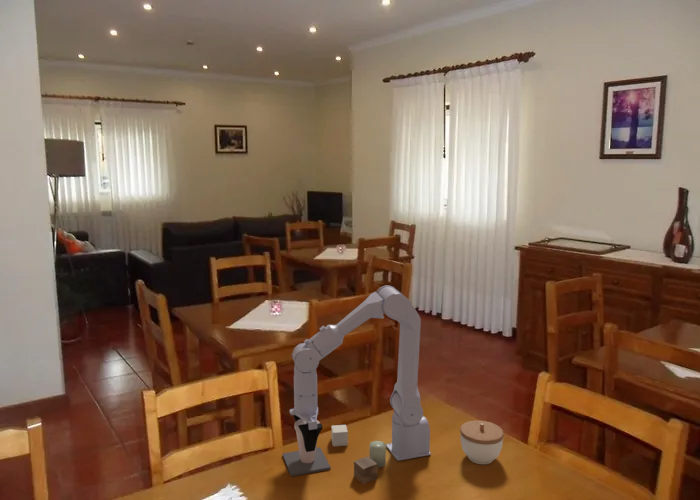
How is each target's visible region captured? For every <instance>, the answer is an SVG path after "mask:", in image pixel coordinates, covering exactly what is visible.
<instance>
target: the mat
mask: <svg viewBox="0 0 700 500" xmlns="http://www.w3.org/2000/svg"><path fill="white" fill-rule="evenodd" d="M282 457H283V460H284V462H285V465H286V468H287V471H288V473H289V476H290V477H295V476H302V475H307V474H312V473H317V472H323V471H329V470H331V468H332V467H331V465H330V463H329V461H328V459H327V458H326V456H325V453H324V452H323V450H322V448H321V446H320V447H316V454H315V460H314V461H313V462H311V463H303V462H301V460H300V454H299V450H295V451H290V452H289V451H288V452H284V453H282Z"/></svg>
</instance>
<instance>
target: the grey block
mask: <svg viewBox="0 0 700 500" xmlns="http://www.w3.org/2000/svg"><path fill="white" fill-rule="evenodd" d="M330 429H331V434H330V435H331V443H332V447H342V446H344V447H345V446H349V431H348V427H347V425H346V424H336V425H331V427H330Z"/></svg>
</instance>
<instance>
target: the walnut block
mask: <svg viewBox="0 0 700 500" xmlns="http://www.w3.org/2000/svg"><path fill="white" fill-rule="evenodd" d="M353 477H354V478H355V479H356V480H358V481H359V482H360V483H361V484H362V485H365V484H367V483H370V482H371V483H372V482H373V481H375V480H378V468H377V463H375V462H374V461H373V460H371V459H370V456H365V457H363V458H359V459H357V460H354V461H353Z"/></svg>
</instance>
